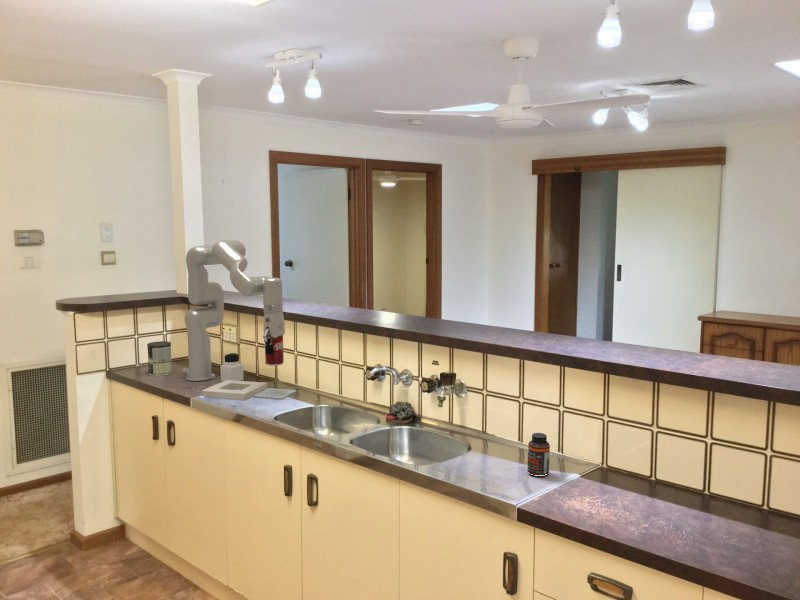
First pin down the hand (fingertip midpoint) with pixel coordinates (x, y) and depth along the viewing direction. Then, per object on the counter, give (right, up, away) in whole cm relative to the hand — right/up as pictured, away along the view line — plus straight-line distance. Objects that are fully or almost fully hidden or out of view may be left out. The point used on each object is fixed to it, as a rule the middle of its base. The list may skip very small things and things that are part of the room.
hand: (274, 352), depth 272 cm
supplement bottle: (+89, -28, -83) cm, 125 cm away
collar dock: (-17, -17, +5) cm, 24 cm away
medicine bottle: (-23, -15, +26) cm, 38 cm away
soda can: (0, -5, +1) cm, 5 cm away
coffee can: (-60, -13, +40) cm, 73 cm away
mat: (0, -17, +2) cm, 17 cm away
